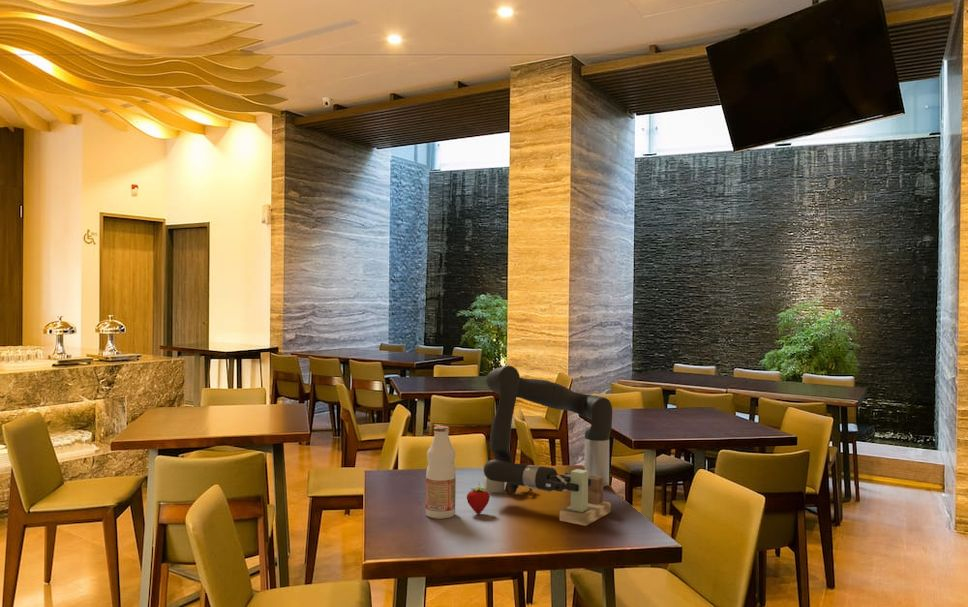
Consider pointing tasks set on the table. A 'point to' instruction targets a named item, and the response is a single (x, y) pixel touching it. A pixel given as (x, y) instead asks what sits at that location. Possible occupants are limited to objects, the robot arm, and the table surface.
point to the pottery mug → (513, 488)
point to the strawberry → (478, 499)
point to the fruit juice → (440, 476)
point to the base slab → (589, 505)
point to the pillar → (581, 497)
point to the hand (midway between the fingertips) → (584, 485)
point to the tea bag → (493, 485)
